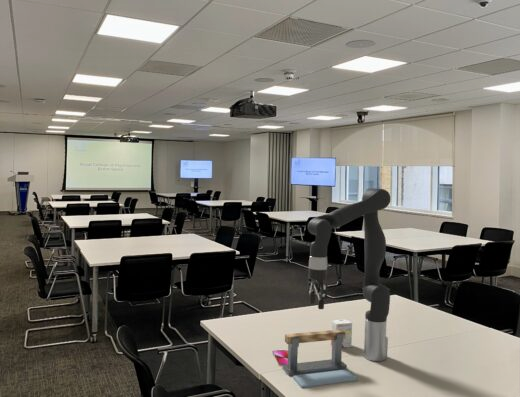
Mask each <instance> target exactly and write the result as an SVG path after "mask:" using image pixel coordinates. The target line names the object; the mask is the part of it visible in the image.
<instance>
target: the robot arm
mask: <svg viewBox="0 0 520 397" xmlns="http://www.w3.org/2000/svg"><path fill="white" fill-rule="evenodd" d="M361 197H362V198H361V200H360V201H358V202H354V203H351V204H347V205H344V206H342V207H339V208H337V209H335V210H332V211H331V212H329V213H325V214H322V215H319V216H316V217H314V218H312V219H311V220H310V221H309V222H308V223H307V230H308V233H310V234H311V235H313V236H315V239H314V241H312V242H311V243H310V247H309V260H308V275H307V276H308V278H307V288H306V289H307V290H306V291H307V292H308V294H309V304H310V305H311V304H313V305H314V304H315V303H316V296H317V298H318V300H317V303H318V304H317V308H318V309H319V310H324V309H325V300H328V285H327V284H324V281H325V280H327V277H328V276H327V275H328V245H329V242H330V239H331V235H332V229H338V228H341V227H342V226H344V225H347V224H348V223H350V222H352V221H354V220H356V219H358V218H361V217H363V225H364V226H363V228H364V234H363V235H364V239H363V240H364V247H363V248H364V274H363V275H364V276H363V287H362V293H363V294H362V295H363V297H364V299H365V300H366V301H367V302H369V303H370V309H369V310H367V311H365V316H364V317H365V318H364V319H365V320H364V342H363V344H364V345H363V357H364V358H365V359H366V360H370V361H372V362H381V361H382V362H383V361H385V360H387V359H388V345H389V337H388V336H387V319H388V316H389V314H390V304H391V303H390V302H391V293H390V290H389V288H388V287H387V286H386V285H384V284H381V282H380V270H381V267H382V264H383V262H384V260H385V258H386V252H387V251H386V250H387V245H386V244H387V242H386V240H387V239H386V236H385V233H384V230H383V229H382V226H381V224H380V221H379V213H378V212H379V211H381V210H384V209H386V208H387V207H389V205H390V203H391V194H390V193H389V191H388V190H386V189H384V188H373V187H371V188H367V189H365V191H363V194H362V196H361Z"/></svg>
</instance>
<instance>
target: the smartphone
mask: <svg viewBox="0 0 520 397" xmlns="http://www.w3.org/2000/svg"><path fill="white" fill-rule="evenodd" d="M272 356H273V358H274V359H275V361H276V364H277V365H278V366H279V367H282V365H286V364H288V349H287V350H286V349H285V350H282V349H281V350H279V349H277V350H272Z"/></svg>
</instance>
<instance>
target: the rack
mask: <svg viewBox="0 0 520 397" xmlns="http://www.w3.org/2000/svg"><path fill="white" fill-rule="evenodd" d="M343 335H344V334H343V333H342V334H336V340H332V345H331V358H330V359H324V360H323V359H322V360H316V361H315V360H313V361H305V362H298V353H299V351H298V350H299V347H300V343H299V338H291V344H287V351H288V364H286V365H282V366H281V368H282V369H283V371H284V372H285V373H286V375H287V376H289V377H290V376H296V375H305V374H313V373H321V372H329V371H338V370H346V369H347V370H348V365H347V364H346V363H345V362H344V361H343V360H342V357H343V356H342V354H343V352H342V351H343V348H342V342H343Z"/></svg>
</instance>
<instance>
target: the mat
mask: <svg viewBox="0 0 520 397" xmlns="http://www.w3.org/2000/svg"><path fill="white" fill-rule="evenodd" d="M292 378H293V380H294V381H295V382H296V384H298V386H299V387H300V388H309V387H317V386H324V385H332V384H333V385H334V384H340V383H348V382H355V381H356V382H357V381H358V380H359V378H358V377H357V376H356V375H354V374H353V372H351V371H350V370H348V368H347V369H340V370H332V371H324V372H315V373H307V374H298V375H292Z"/></svg>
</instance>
